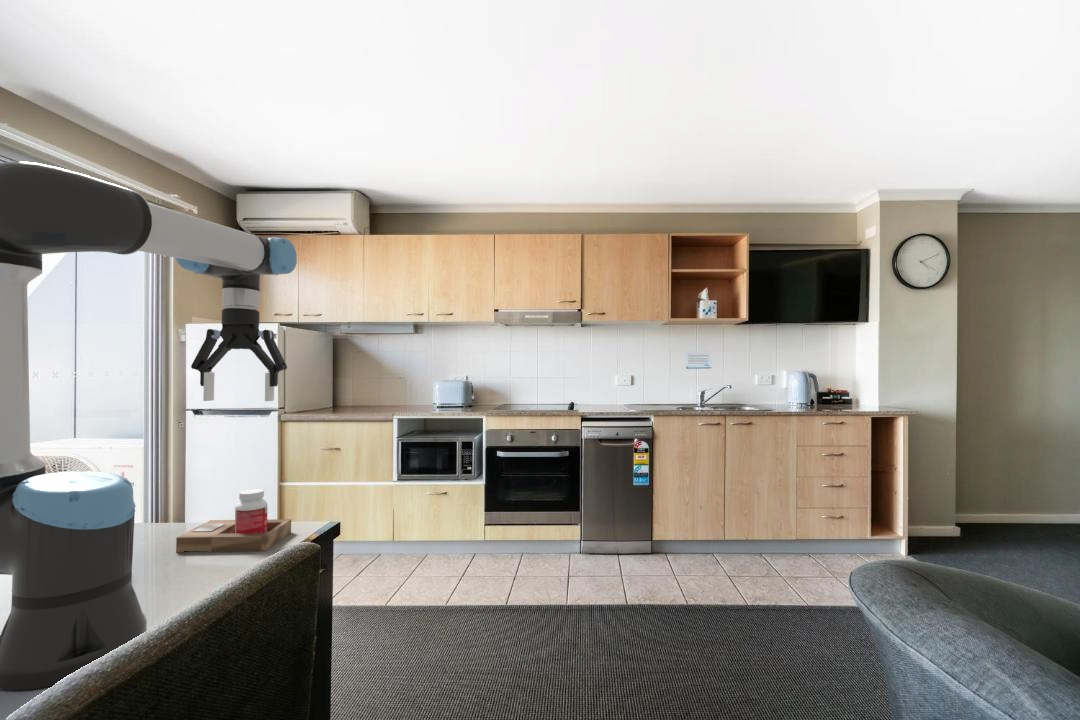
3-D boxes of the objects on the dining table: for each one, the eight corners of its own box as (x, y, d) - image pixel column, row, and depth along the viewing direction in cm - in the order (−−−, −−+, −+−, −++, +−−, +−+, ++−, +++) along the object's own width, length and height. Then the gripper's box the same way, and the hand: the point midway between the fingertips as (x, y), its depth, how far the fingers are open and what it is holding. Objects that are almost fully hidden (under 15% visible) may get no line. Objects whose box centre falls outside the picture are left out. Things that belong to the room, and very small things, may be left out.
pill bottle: (270, 541, 110) (271, 491, 110) (239, 548, 105) (240, 496, 106) (261, 535, 114) (262, 486, 114) (231, 541, 110) (231, 491, 110)
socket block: (266, 550, 104) (266, 535, 104) (176, 552, 103) (176, 536, 103) (291, 532, 116) (291, 518, 116) (210, 533, 115) (210, 519, 115)
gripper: (303, 311, 120) (301, 400, 119) (195, 310, 119) (193, 399, 118) (288, 307, 112) (287, 402, 112) (174, 306, 111) (171, 401, 111)
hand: (239, 401), depth 115 cm, fingers open, 13 cm apart
